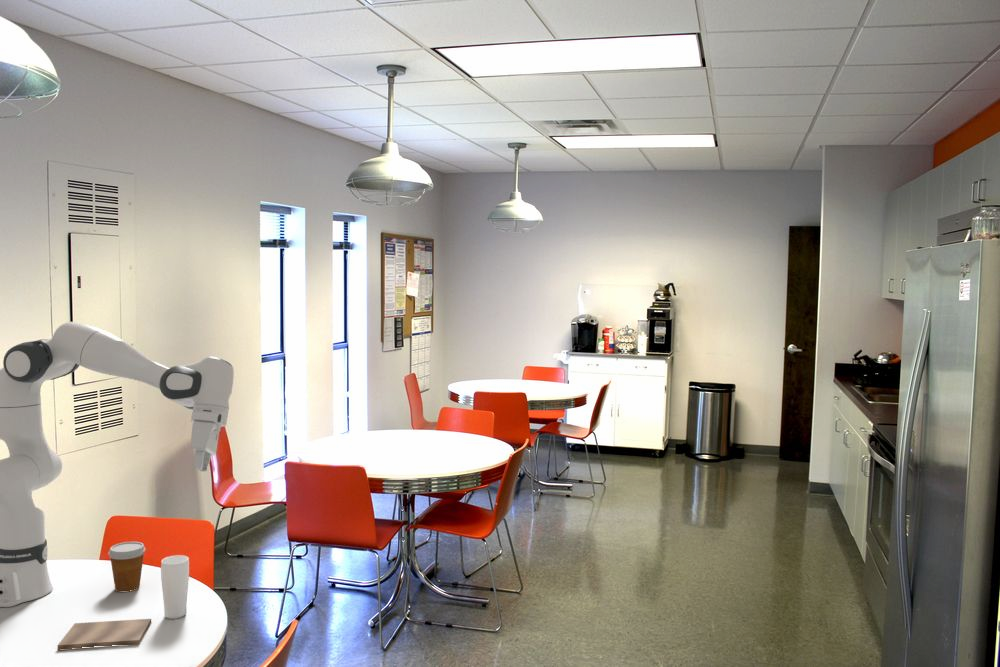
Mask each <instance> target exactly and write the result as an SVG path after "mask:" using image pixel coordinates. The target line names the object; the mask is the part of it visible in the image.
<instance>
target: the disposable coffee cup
mask: <svg viewBox="0 0 1000 667" xmlns="http://www.w3.org/2000/svg"><path fill="white" fill-rule="evenodd" d="M145 552H146V547H145V545H144V543H143V542H140V541H124V542H120V543H116V544H114V545H112V546H111V547H110V548H109V551H108V553H107V554H108V556H109V558H110V562H111V563H110V564H111V571H112V576H113V577H112V578H113V584H114V590H115V589H116V590H117V591H116V590H115V591H116V592H118V591H129V592H131V591H130V590H133V591H135V590H134V589H136V588H138V587H139V586H140V585H141V578H142V569H143V563H144V562H143V561H144V554H145ZM139 588H140V587H139ZM139 588H138V589H139ZM136 590H137V589H136Z"/></svg>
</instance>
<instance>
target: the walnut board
mask: <svg viewBox="0 0 1000 667" xmlns="http://www.w3.org/2000/svg"><path fill="white" fill-rule="evenodd" d="M151 624H152V618H141V619H140V618H139V619H126V620H125V619H123V620H108V621H95V622H75V623H73V625H72V626H71V628H70V629H69V630H68V631H67V632H66V633H65V635H64V636H63V638H62V639H61V640H60V641H59V643H58V644H57V651H61V650H60V649H69V650H73V649H72V648H82V647H94V646H112V645H129V646H139V645H141V643H140V642H142V641H143V639H144V637H145V635H146V633H147V632H148V629H149V628H150V626H151Z"/></svg>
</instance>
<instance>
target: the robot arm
mask: <svg viewBox="0 0 1000 667" xmlns="http://www.w3.org/2000/svg"><path fill="white" fill-rule="evenodd" d="M2 362H3V364H2V365H3V367H1V368H0V440H1V441H3V442H4V443H5V444H6V446H7V450H8V452H9V454H8V455H9V456H8V457H5V458H2V459H0V608H10V607H14V606H17V605H19V604H22V603H25V602H28V601H29V602H30V601H33V600H36V599H39V598H42V597H44V596H47V595H48V594H49V593H51V592H52V591H53V588H54V587H53V584H52V582H51V579H50V575H49V571H48V565H47V564H48V563H47V560H48V554H49V552H48V549H49V548H48V541H47V539H46V526H45V525H46V522H45V520H46V519H45V513H44V511H43V510H42V509H40V508H38V507H37V506H36V505H35V503H34V501H33V500H34V499H33V496H32V495H33V491H36V490H39V489H42V488H45V487H46V486H48V485H49V484H50V483H52V482H54V481H55V480H56V479H57V478H58V477H59V476H60V474H61V472H62V470H63V463H62V459H61V457H60V456H59V454H57V452H55V451H54V450H52V449H51V447H50V445H49V444H48V442H47V439H46V436H45V433H44V428H43V417H42V416H43V415H42V396H41V388H42V386H43V384H44V383H45V382H46V381H53V380H56V379H59V378H62V377H65V376H68V375H70V374H71V373H73V372H75V371H76V370H77V369H78V368H79V367H83V368H85V369H87V370H90V371H93V372H97V373H100V374H103V375H104V374H105V375H109V376H113V377H119V378H123V379H130V380H134V381H136V382H137V381H138V382H140V383H144V384H147V385H150V386H152V387H154V388H157V389H159V391H160V392H161V394H162V396H163V397H165V398H166V399H167V400H170V401H172V402H174V403H176V404H179V405H181V406H182V407H184V408H187V409H189V410H192V412H191V415H190V416H191V420H190V422H191V423H192V427H191V436H190V437H191V438H190V448H191V450H192V451H194V464H193V465H194V466H193V470H197V471H198V470H199V471H200V472H204V473H206V472H207V471H208V469H209V464H210V462H211V459H212V456H216V453H217V451H218V444H219V435H220V432H221V428H222V427H226V426H227V421H228V416H229V409H230V405H229V400H230V398H231V395H232V393H233V392H232V391H233V386H234V385H233V384H234V373H235V372H234V371H235V370H234V367H233V365H232V364H231V363H230V362H229V361H227V360H225V359H222V358H219V357H217V356H211V355H210V356H205V357H204V358H202V359H200V360H198V361H196V362H193V363H189V364H184V365H175V366H174V365H173V366H171V367H167V366H165V365H163V364H160V363H158V362H156V361H154V360H152V359H151V358H149V357H147V356H146V355H144V354H143V353H141V352H140V351H139V350H137V349H136V348H134V346H132V345H130V344H129V343H127V342H126V341H125V340H124V339H122V338H120V337H118V336H117V335H115V334H113V333H111V332H109V331H107V330H104V329H101V328H100V327H96V326H92V325H90V324H86V323H81V322H77V321H68V322H65V323H61V325H59V326H58V327H57V328H56V330H55V331H54V333H53V335H52V337H51V338H43V339H37V340H33V341H26V342H24V341H23V342H21V343H17V344H16V345H14V346H13V347H11V348H9V349H8V350H7V351H6V353H5V354H4V357H3V360H2Z"/></svg>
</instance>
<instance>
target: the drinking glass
mask: <svg viewBox="0 0 1000 667" xmlns="http://www.w3.org/2000/svg"><path fill="white" fill-rule="evenodd" d="M189 559H190V557H188V556H187V555H183V554H180V555H179V554H175V555H170V556H166V557H164V558H162V559H161V562H160V564H161V565H160V572H161V573H160V580H161V589H162V599H163V606H164V607H163V608H164V612H163V613H164V618H166V619H169V620H170V619H171V620H175V619H179V618H182V617H184V616H185V615H186V613H187V602H188V592H189V579H190V560H189Z"/></svg>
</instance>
